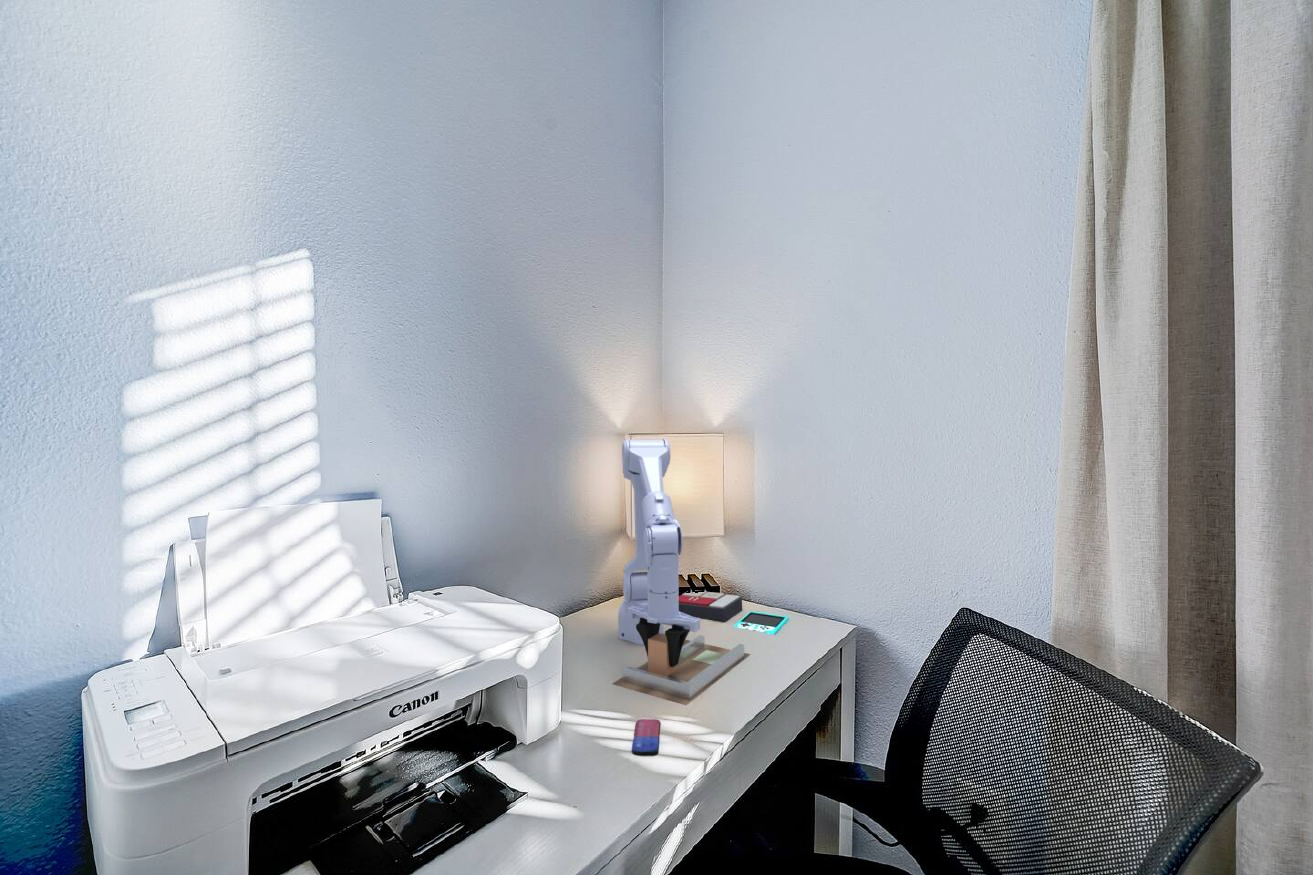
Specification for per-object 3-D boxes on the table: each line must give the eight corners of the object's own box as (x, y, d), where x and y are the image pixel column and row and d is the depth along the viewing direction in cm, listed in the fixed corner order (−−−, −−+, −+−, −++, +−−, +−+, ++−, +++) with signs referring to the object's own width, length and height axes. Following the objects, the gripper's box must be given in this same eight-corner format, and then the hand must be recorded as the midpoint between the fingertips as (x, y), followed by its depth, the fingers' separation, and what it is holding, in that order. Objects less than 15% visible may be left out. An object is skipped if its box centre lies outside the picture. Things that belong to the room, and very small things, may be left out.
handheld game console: (726, 635, 143) (726, 630, 143) (749, 615, 157) (749, 609, 157) (769, 643, 139) (769, 637, 138) (789, 621, 153) (789, 615, 153)
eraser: (636, 726, 102) (635, 715, 102) (661, 726, 102) (661, 715, 102) (630, 763, 91) (629, 750, 91) (658, 763, 91) (658, 751, 91)
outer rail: (622, 680, 116) (622, 667, 116) (683, 643, 135) (683, 631, 134) (689, 699, 109) (689, 685, 108) (744, 656, 127) (744, 644, 127)
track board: (612, 689, 115) (611, 683, 115) (684, 643, 137) (684, 638, 137) (686, 710, 107) (686, 704, 107) (750, 658, 128) (750, 653, 128)
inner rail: (649, 664, 124) (649, 651, 124) (683, 643, 135) (683, 631, 134) (671, 669, 121) (671, 656, 121) (704, 647, 132) (704, 635, 132)
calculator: (689, 588, 167) (742, 593, 160) (690, 604, 167) (743, 610, 160) (668, 599, 158) (723, 605, 150) (669, 616, 158) (724, 623, 150)
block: (648, 671, 117) (648, 639, 116) (659, 663, 120) (659, 632, 120) (666, 676, 114) (666, 643, 114) (678, 668, 118) (678, 636, 117)
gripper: (618, 588, 117) (618, 661, 118) (686, 601, 109) (686, 679, 110) (639, 580, 123) (640, 649, 124) (705, 591, 115) (705, 665, 116)
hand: (663, 662), depth 117 cm, fingers closed on block, 4 cm apart
